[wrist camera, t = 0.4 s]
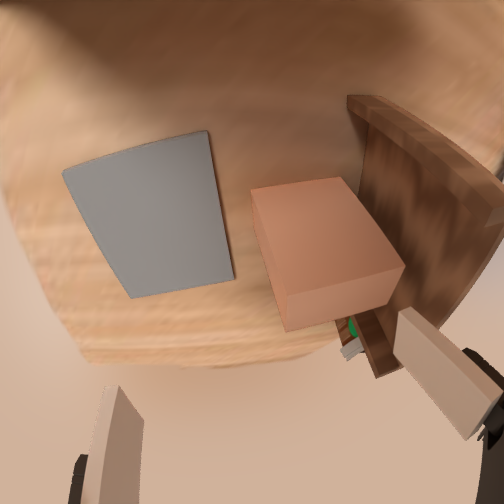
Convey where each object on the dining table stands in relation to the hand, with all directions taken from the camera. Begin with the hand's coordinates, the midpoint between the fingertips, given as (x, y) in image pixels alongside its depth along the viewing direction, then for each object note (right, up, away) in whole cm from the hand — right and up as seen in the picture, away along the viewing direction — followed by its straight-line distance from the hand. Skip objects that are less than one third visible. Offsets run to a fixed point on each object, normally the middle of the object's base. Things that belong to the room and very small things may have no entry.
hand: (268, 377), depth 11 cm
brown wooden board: (+10, +11, +17) cm, 23 cm away
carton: (+4, +10, +16) cm, 20 cm away
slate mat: (-10, +8, +15) cm, 20 cm away
